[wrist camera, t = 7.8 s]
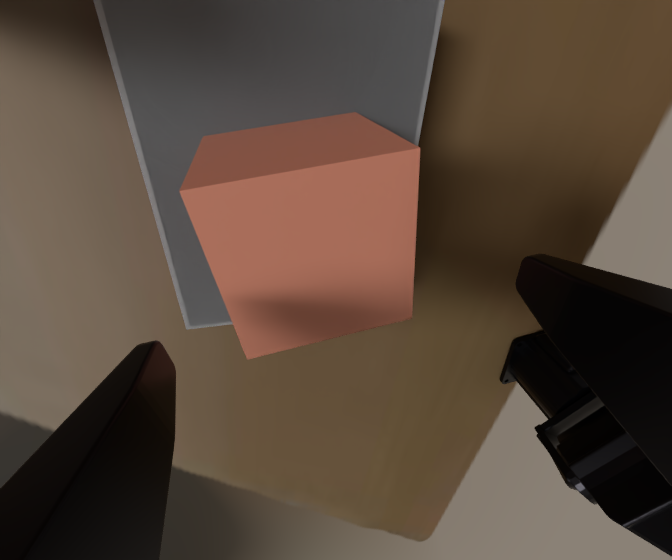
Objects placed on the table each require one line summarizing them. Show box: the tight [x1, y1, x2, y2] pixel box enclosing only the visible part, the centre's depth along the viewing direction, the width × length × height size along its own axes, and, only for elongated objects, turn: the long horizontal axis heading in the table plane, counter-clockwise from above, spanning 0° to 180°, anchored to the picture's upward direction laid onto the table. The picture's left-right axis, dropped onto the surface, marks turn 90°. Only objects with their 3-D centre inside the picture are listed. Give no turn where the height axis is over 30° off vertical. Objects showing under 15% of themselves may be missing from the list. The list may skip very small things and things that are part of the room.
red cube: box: [179, 112, 420, 359], centre depth 12 cm, size 6×6×6 cm
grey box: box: [93, 0, 445, 329], centre depth 16 cm, size 14×11×4 cm
